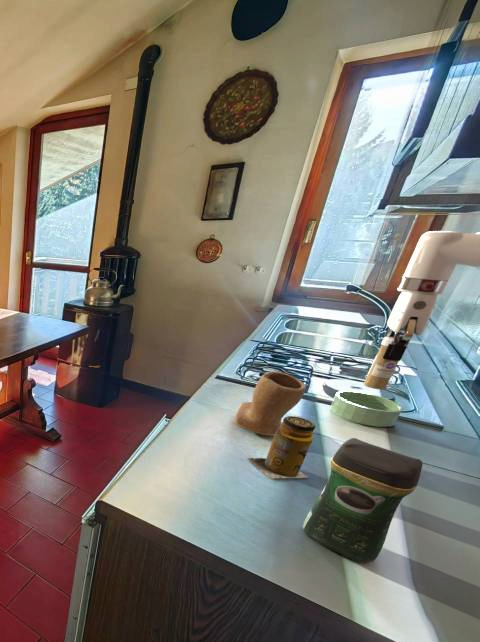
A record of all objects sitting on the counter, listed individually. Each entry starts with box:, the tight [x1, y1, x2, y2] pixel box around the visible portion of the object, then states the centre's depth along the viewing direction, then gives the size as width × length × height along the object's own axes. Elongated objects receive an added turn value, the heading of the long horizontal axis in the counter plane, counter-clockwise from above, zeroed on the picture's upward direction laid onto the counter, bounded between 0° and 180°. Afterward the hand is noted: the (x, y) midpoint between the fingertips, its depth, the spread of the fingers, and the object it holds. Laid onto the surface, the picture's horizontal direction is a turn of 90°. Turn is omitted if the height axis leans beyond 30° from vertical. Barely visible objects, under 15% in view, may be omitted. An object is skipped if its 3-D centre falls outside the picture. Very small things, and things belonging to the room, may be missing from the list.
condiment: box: [246, 415, 316, 480], centre depth 83 cm, size 7×8×12 cm
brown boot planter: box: [234, 371, 307, 437], centre depth 100 cm, size 15×12×15 cm
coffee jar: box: [302, 437, 423, 563], centre depth 63 cm, size 10×8×19 cm
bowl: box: [329, 390, 404, 428], centre depth 107 cm, size 13×13×5 cm
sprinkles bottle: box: [362, 336, 400, 391], centre depth 102 cm, size 5×5×14 cm
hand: (388, 356), depth 101 cm, fingers closed on sprinkles bottle, 4 cm apart
